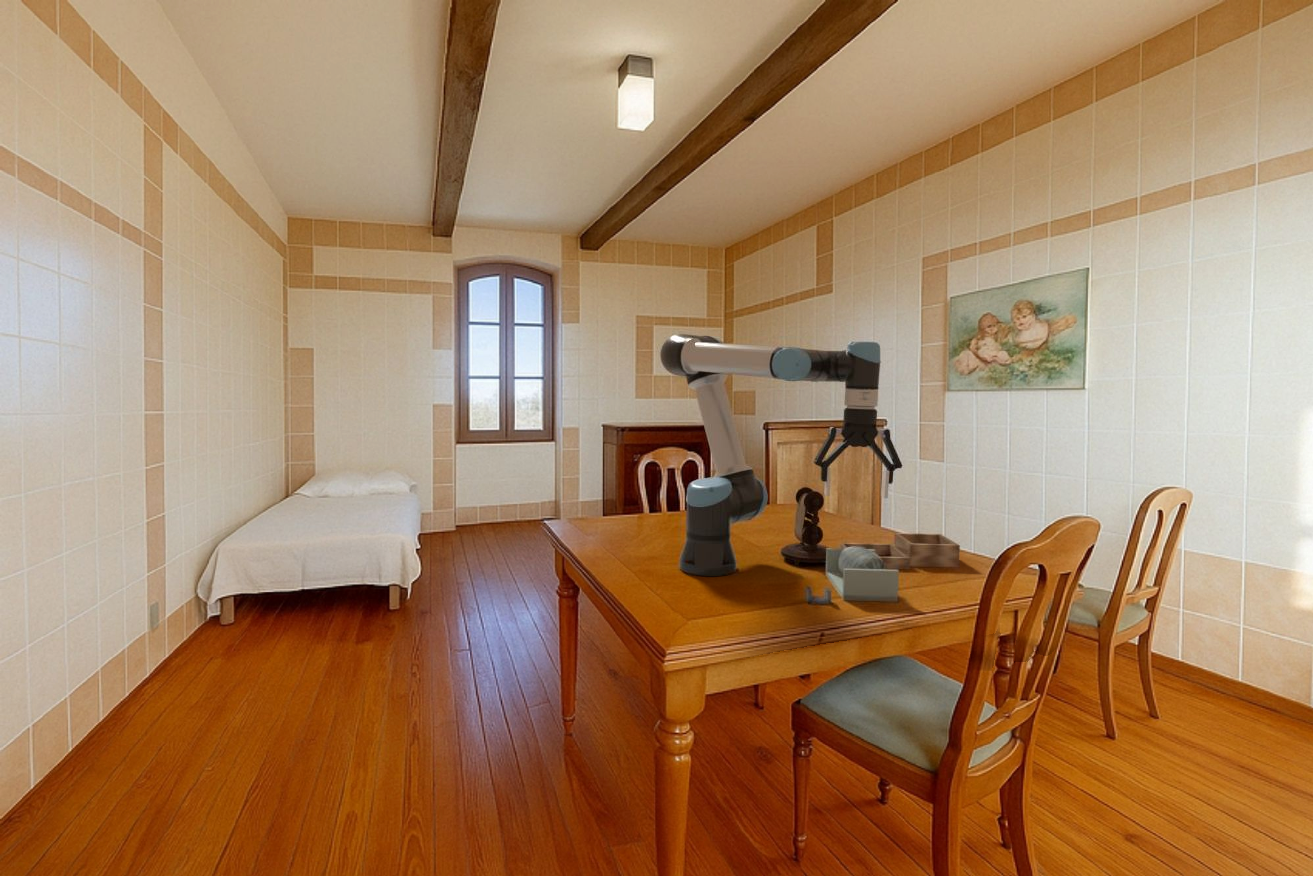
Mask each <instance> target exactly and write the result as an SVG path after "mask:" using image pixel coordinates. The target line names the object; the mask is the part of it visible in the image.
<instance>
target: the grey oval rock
mask: <svg viewBox="0 0 1313 876" xmlns="http://www.w3.org/2000/svg"><path fill="white" fill-rule="evenodd" d="M880 557H881V556H880V555H877V554H876V553H874V552H872V551H870V550H868V549H866V548H863V547H857V546H851V547H847V548H845V549H844V550H843V551H842V552H841V554H840V557H839V570H840V572H841V574H842V575H843V568H849V569H885V567H884V563H883V560H882V559H881V558H880Z"/></svg>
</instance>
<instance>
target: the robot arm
mask: <svg viewBox="0 0 1313 876" xmlns="http://www.w3.org/2000/svg"><path fill="white" fill-rule="evenodd" d="M659 353H660V362H661V364H662V366H663V367H664V369H665V370H666V372H669V373H670V374H672V375H674V376H678V377H685V379H686V382H687V385H688V386H687V387H688V388H689V389H691V390H693V391H694V392H695V395H696V400H697V403H698V407H699V411H700V415H701V420H702V423H703V427H704V430H705V434H706V439H707V442H708V446H709V451H710V454H711V458H712V460H713V461H712V462H713V465H714V469H715V473H714V475H713V476H711V477H707V478H706V477H703V478H698V479H695V480H693V481H691V482H689V484H688V486H687V489H686V497H685V502H686V512H685V513H686V515H685V516H686V519H685V521H686V522H685V523H686V524H685V525H686V527H685V528H686V529H685V530H686V531H685V533H686V534H685V542H684V544H683V547H682V550H681V553H680V556H679V561H678V562H679V563H678V568H679V569H680V571H682V572H684V573H687V574H690V575H695V576H701V577H718V576H719V577H721V576H727V575H731V574H734V573H735V572H736V571H737V567H738V565H737V564H738V563H737V561H738V560H737V558H736V553H735V550H734V547H733V544H732V540H731V535H732V534H731V532H732V531H731V529H732V527H731V526H732V525H733V524H737V523H741V522H742V523H743V522H748V521H750V520H753V519H755V518H756V517H759V516H760V515H761V514H762V513H763V512H764V511H765V508H766V507H767V503H768V491H767V487H766V485H765V484H764V482H763V481H761V480H760V479H759V478H757V477H756V476H755V475H756V474H755V472H754V468H753V467H752V466H749V465H748V464H747V463H746V460H745V457H744V453H743V449H742V445H741V440H740V437H739V433H738V430H737V425H736V423H735V419H734V415H733V411H732V407H731V404H730V401H729V396H728V393H727V389H726V385H725V382H726V381H727V379H728V376H729V375H735V376H744V377H745V376H747V377H754V378H755V377H757V378H763V379H764V378H766V379H776V380H783V381H787V382H813V383H814V382H815V383H816V382H817V383H819V382H826V383H827V382H828V383H829V382H830V383H831V382H835V383H836V382H839V383H845V384H844V385H845V387H844V388H845V391H844V400H843V401H844V406H846V407H845V408H844V409H843V420H842V421H843V425H842V426H841V427H842V428H839V427H838V428H836V427H834V426H830V427H829V428H828V433H827V434H828V435H827V437H826V438H825V441H824V442H823V444H822V446H821V448H820V449H819V451H818V453H817V454H816V456H815V458H814V460H813V464H814V465H816V466H819V467H820V468H821V469H820V481H821V482H824V487H823V489H824V492H823V494H824V495H825V496H826V497H831V496H830V494H831V480H832V479H831V477H832V476H831V475H832V469H831V467H830V466H831V465H832V464H833V462H834V461H836V460H837V458H838V457H839V456H840V455H841V454H842V453H843V452H844V451H845V450H846V449H847V448H849V446H850V447H852V448H857V447H861V448H867V447H869V448H870V449H871V451H872V452H873V453H874V454H875V455H876V457H877V458H878V459H879V461H880V462H881V464H882V465H884V468H883V469H882V475H881V477H882V479H881V492H880V493H881V494H880V496H881V497H882V498H883V499H888V498H889V484H890V485H892V484H893V482H894V471H895V470H896V469H902V467H903V464H902V462H901V459H900V457H899V455H898V453H897V450H896V448H895V445H894V443H893V441H892V439H891V430H890V429H888V428H882V429H877V421H878V410H877V409H876V407H878V405H879V403H878V401H879V388H880V387H879V385H880V384H879V383H880V381H879V380H880V372H881V363H882V361H881V346H880V344H879V343H878V342H874V341H850V342H848V344H847V346H846V350H823V349H822V350H821V349H820V350H819V349H810V348H809V349H807V348H801V347H794V346H793V347H792V346H789V347H786V346H785V347H784V346H783V347H780V346H767V345H751V344H736V343H735V344H734V343H724V341H722V340H721V339H719V338H716V337H714V336H710V335H695V334H693V335H692V334H686V333H679V334H673V335H672V336H670V337H668V338H667V339H666V340H665V341H664V343H663V344H662V346H661V349H660V352H659ZM840 434H841V436H842V437H843V439H842V440H841V441H840V443H839V444H838V445H837V446H836V447H835V448H834V449H833V450H832V451H831V453H830V454H829V455H827V453H828V451H829V450H830V448H831V446H832V444H833V443H834V441H835V440H836V438H837V437H839V435H840ZM878 436H879V438H881V439H882V442H883V444H884V446H885V448H886V450H887V453H888V455H889V457H890V459H891V461H892V462H891V461H890V460H889V459H888V457H887V456H886V455H885V454H884V452H883V451H882V450H881V448H880V447H879V445H878V444H877V443H876V441H875V439H876V437H878ZM826 455H827V457H826Z"/></svg>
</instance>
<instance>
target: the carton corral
mask: <svg viewBox="0 0 1313 876" xmlns="http://www.w3.org/2000/svg"><path fill="white" fill-rule="evenodd" d="M893 545H894V546H895V547H896V548H898V549H899V550H900V551H901V552H903V553H904V554H905V555H907V556H908V557H909V558H910V567H926V568H927V567H928V568H929V567H930V568H931V567H932V568H934V567H935V568H959V565H960V549H961V545H960V544H958V543H956V542H955V541H953V540H951V539H949V538H948V537H946V536H945V535H943V534H941V533H911V532H910V533H906V532H902V533H901V532H895V533H894V542H893Z"/></svg>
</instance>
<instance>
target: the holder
mask: <svg viewBox="0 0 1313 876" xmlns="http://www.w3.org/2000/svg"><path fill="white" fill-rule="evenodd" d="M843 550H844V549H840V548H839V547H837V548H833V547H832V548H831V547H828V548H826V562H825V576H826V578H827V579H828V581H829V582H830V584H831V585H832V586H833V587H834V589H835V590H836V592H837V594H838V595H839V596H840V597H841V599H842V600H843V601H857V602H858V601H859V602H861V601H862V602H865V601H866V602H893V603H894V602H896V603H898V601H899V600H898V599H899V579H900V578H899V577H900V576H899V575H900V571H899V569H849V568H843V575H842V574H841V572H840V570H839V557H840V554H841V552H842V551H843ZM868 550H870V551H872V552H874V553H876V550H874V549H868Z"/></svg>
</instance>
